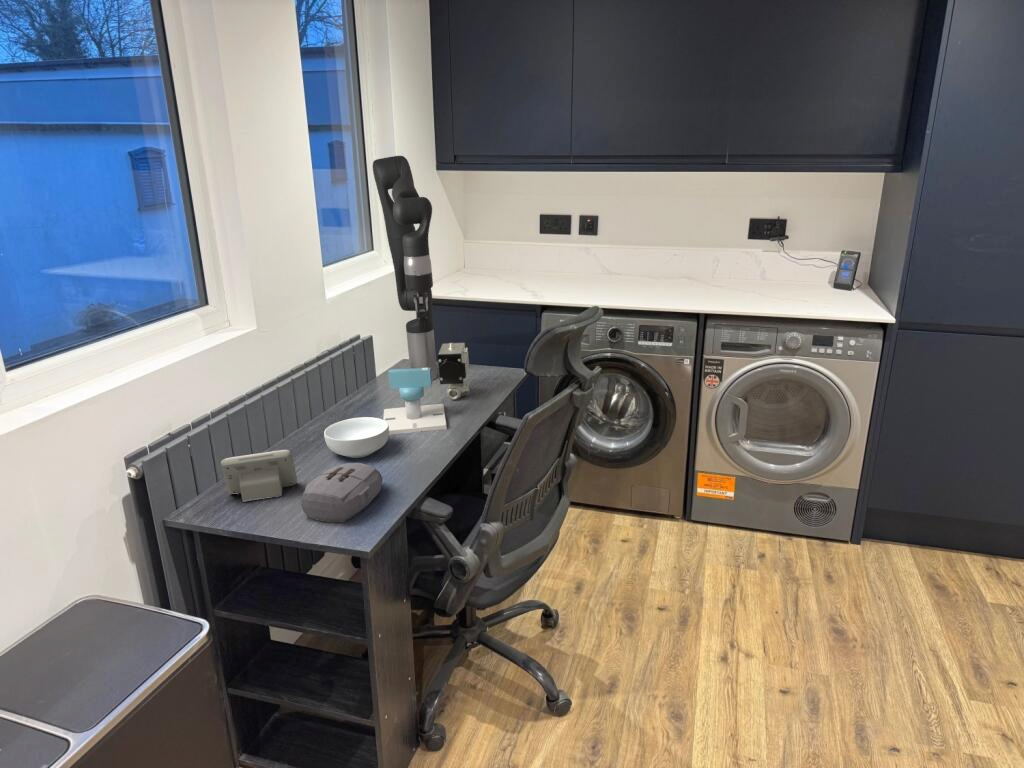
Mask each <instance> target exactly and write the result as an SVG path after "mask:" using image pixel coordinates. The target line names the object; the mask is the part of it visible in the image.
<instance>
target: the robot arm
mask: <svg viewBox="0 0 1024 768" xmlns="http://www.w3.org/2000/svg"><path fill="white" fill-rule="evenodd" d="M372 172H373V177H374V182H375V186H376V190H377V194H378V196H379V200H380V204H381V210H382V214H383V219H384V225H385V232H386V236H387V242H388V246H389V252H390V255H391V259H392V265H393V270H394V276H395V285H396V292H397V293H396V295H397V299H398V300H397V301H398V304H399V307H400V308H401V309H402V310H403V311H406V312H407V311H409V312H416V313H417V317H416V318H413V319H410V320H408V321H407V322H406V324H405V330H406V341H407V352H408V362H409V369H413V368H431V377H432V381H434V380H435V379H437V378H438V367H437V355H436V344H435V333H434V331H435V330H434V311H433V310H434V309H433V292H432V291H433V290H432V288H433V286H434V281H433V280H434V279H433V270H432V261H431V257H430V247H429V244H430V243H429V232H430V226H431V220H432V215H433V206H432V202H431V201H430V199H428V197H425V196H420V195H419V193H418V191H417V189H416V187H415V182H414V177H413V174H412V169H411V165H410V162H409V161H408V159H407V158H406V157H405V156H404V155H394V156H387V157H382V158H378V159H377V158H376V159H374V160H373V162H372ZM389 190H391V196H392V197H391V196H390V193H389ZM415 225H418V228H417V229H416V227H415Z"/></svg>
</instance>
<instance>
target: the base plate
mask: <svg viewBox="0 0 1024 768" xmlns="http://www.w3.org/2000/svg"><path fill="white" fill-rule="evenodd" d="M404 405H405V406H402V407H392V408H385V409H383V419H382V420H385V421H386V422H387V423H388V425H389V436H390V435H398V434H399V435H400V434H409V433H419V432H421V431H422V432H429V431H430V432H431V431H440V430H442V431H443V430H447V429H448V428H447V420H446V414H445V408H444V403H437V404H427V405H421V398H419V399H415V400H404ZM422 432H421V433H422Z"/></svg>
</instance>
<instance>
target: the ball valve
mask: <svg viewBox="0 0 1024 768" xmlns="http://www.w3.org/2000/svg"><path fill="white" fill-rule="evenodd" d="M469 356H470V355H469V348H468V347H466V342H464V341H463V342H461V341H459V342H442V344H441V347H440V349H439V351H438V354H437V363H438V374H439V376H438V377H439V384H440V385H448V387H447V388H446V395H447V398H449V399H450V400H454V401H456V400H458V399H460V397H466V396H470V393H471V392H470V390H471V389H470V387H471V386H470V382H465V379H466V378H467V376H468V371H469V368H470V358H469Z"/></svg>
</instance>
